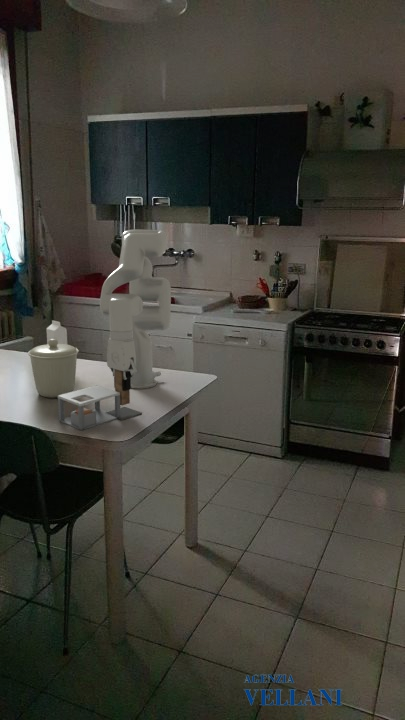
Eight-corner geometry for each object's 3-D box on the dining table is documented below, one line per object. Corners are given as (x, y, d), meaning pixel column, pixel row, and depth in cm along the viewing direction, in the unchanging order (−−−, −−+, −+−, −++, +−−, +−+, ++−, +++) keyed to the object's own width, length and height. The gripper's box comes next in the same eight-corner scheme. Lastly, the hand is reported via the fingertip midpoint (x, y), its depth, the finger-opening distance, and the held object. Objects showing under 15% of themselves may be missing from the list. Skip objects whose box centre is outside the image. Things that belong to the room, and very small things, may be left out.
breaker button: (84, 418, 191) (84, 406, 190) (90, 421, 189) (90, 409, 188) (76, 421, 189) (76, 409, 188) (82, 423, 187) (82, 411, 186)
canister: (62, 404, 208) (60, 346, 203) (20, 398, 214) (16, 341, 209) (89, 389, 225) (87, 336, 219) (49, 384, 231) (46, 332, 225)
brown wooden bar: (123, 401, 200) (122, 361, 196) (129, 403, 198) (128, 363, 194) (115, 403, 197) (114, 363, 194) (122, 405, 195) (121, 365, 192)
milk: (56, 375, 244) (53, 323, 238) (48, 372, 248) (45, 321, 242) (69, 372, 248) (66, 321, 242) (60, 369, 252) (57, 319, 246)
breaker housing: (97, 409, 203) (96, 385, 201) (120, 417, 196) (119, 392, 193) (59, 421, 192) (57, 395, 189) (81, 430, 184) (80, 403, 182)
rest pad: (124, 407, 205) (124, 406, 205) (142, 413, 199) (142, 412, 199) (104, 414, 199) (104, 412, 199) (121, 420, 193) (121, 419, 193)
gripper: (96, 333, 195) (98, 386, 199) (129, 340, 184) (130, 396, 188) (114, 330, 200) (115, 381, 204) (147, 337, 189) (147, 391, 194)
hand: (122, 388), depth 196 cm, fingers closed on brown wooden bar, 3 cm apart
